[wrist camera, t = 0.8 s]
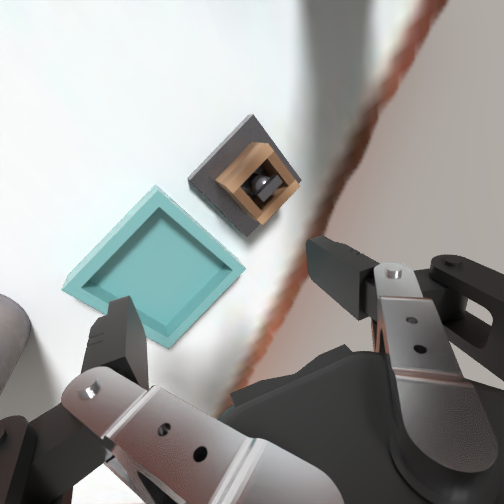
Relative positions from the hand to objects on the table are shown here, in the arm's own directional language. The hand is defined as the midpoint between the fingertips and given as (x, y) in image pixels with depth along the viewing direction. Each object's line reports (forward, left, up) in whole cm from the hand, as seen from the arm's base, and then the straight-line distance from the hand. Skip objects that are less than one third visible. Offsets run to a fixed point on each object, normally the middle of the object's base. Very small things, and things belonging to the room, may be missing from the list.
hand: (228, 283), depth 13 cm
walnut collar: (-8, +6, -22) cm, 23 cm away
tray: (+7, +6, -23) cm, 25 cm away
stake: (-8, +6, -23) cm, 25 cm away
